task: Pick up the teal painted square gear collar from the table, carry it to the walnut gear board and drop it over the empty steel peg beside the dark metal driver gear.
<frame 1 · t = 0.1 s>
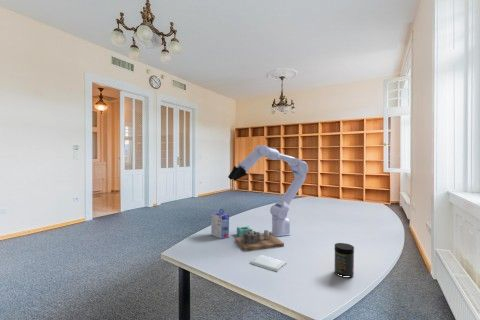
hand: (231, 178, 127), 32 cm above the table, tool tilted 50°, fingers open, 7 cm apart
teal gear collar: (244, 235, 134), on the table
hard drive: (268, 265, 99), on the table
gear board: (259, 243, 122), on the table
ink cartridge box: (220, 236, 133), on the table
supplement container: (343, 274, 91), on the table
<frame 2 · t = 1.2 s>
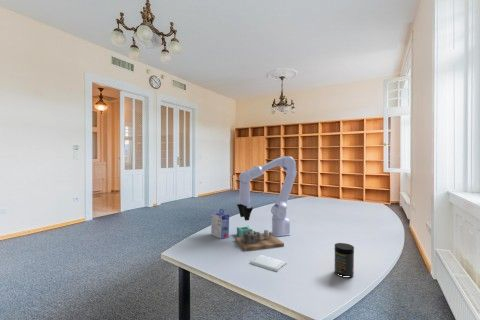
hand: (244, 218, 134), 9 cm above the table, tool pointing down, fingers open, 7 cm apart
nothing on the table moved.
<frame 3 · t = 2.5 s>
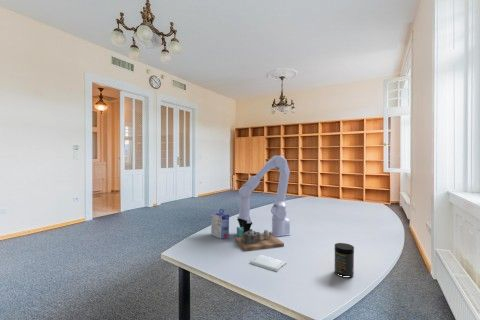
hand: (244, 233, 134), 1 cm above the table, tool pointing down, fingers closed on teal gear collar, 6 cm apart
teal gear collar: (244, 235, 134), on the table, touching gripper
everything else where it was.
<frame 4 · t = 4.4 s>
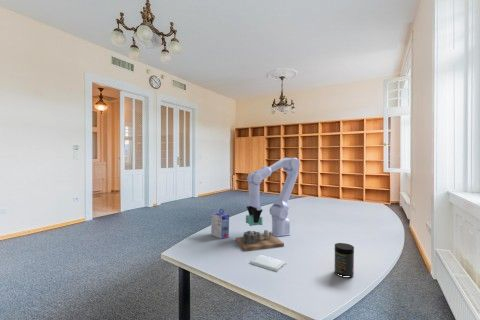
hand: (254, 221, 129), 9 cm above the table, tool pointing down, fingers closed on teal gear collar, 6 cm apart
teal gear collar: (254, 223, 129), point 8 cm above the table, touching gripper
everything else where it was.
when the fingers open (5 cm above the table, at t = 6.6 s): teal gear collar drops 2 cm, resting on gear board.
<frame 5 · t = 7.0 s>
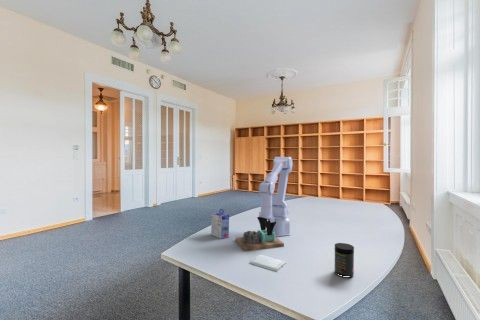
hand: (266, 232, 123), 5 cm above the table, tool pointing down, fingers open, 7 cm apart
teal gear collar: (266, 239, 123), point 1 cm above the table, touching gear board
everything else where it was.
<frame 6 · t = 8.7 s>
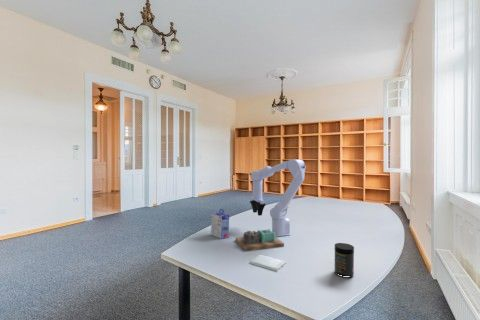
hand: (257, 213, 145), 9 cm above the table, tool pointing down, fingers open, 7 cm apart
nothing on the table moved.
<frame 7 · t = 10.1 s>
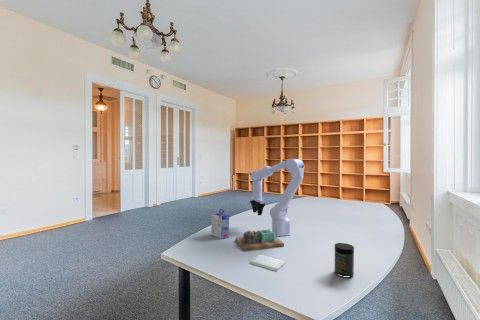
hand: (257, 213, 145), 9 cm above the table, tool pointing down, fingers open, 7 cm apart
nothing on the table moved.
at the end: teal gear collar 0.1 cm from the target spot on the gear board, point 1.5 cm above the gear board's base; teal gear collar tilted 0°; the gripper is holding nothing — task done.
